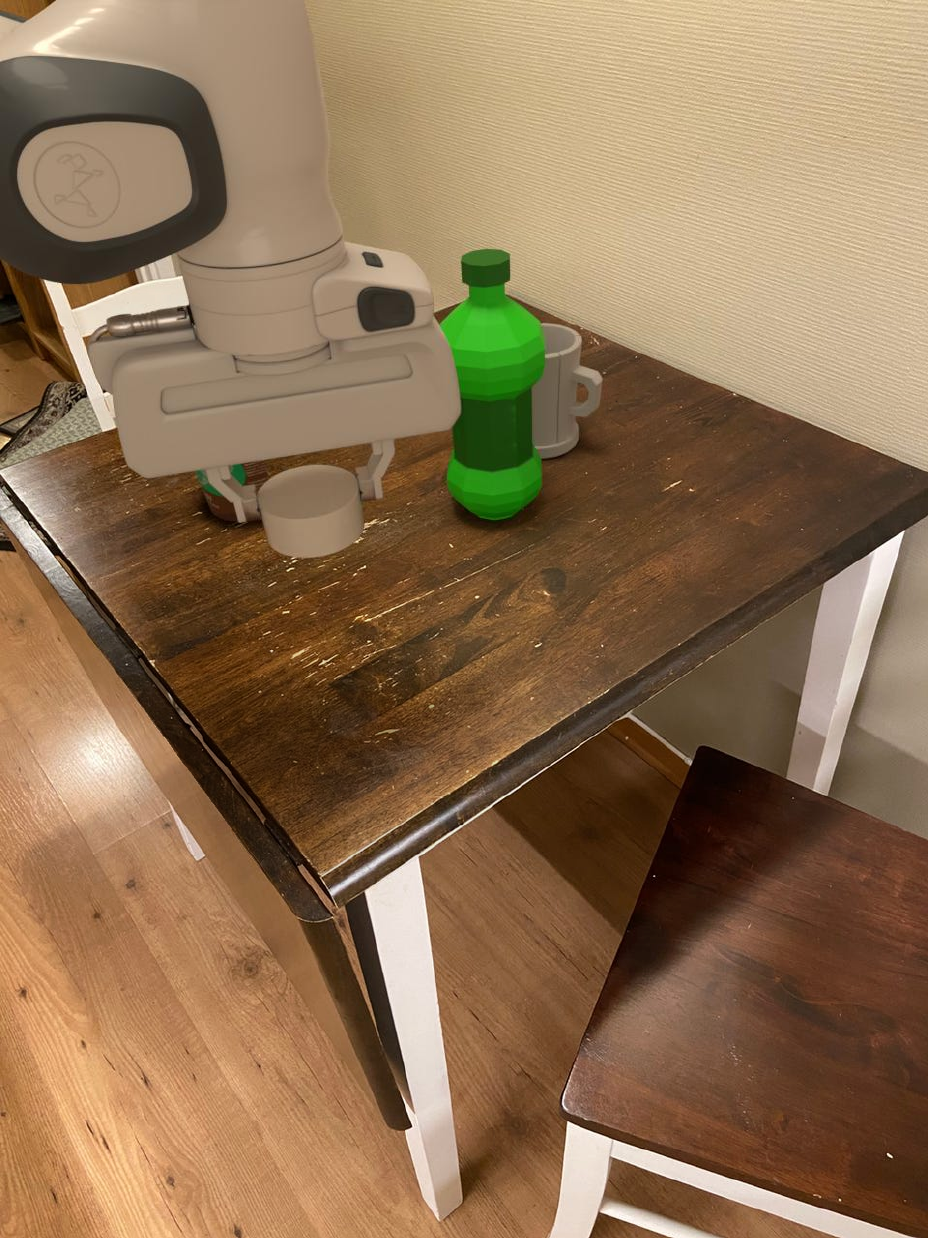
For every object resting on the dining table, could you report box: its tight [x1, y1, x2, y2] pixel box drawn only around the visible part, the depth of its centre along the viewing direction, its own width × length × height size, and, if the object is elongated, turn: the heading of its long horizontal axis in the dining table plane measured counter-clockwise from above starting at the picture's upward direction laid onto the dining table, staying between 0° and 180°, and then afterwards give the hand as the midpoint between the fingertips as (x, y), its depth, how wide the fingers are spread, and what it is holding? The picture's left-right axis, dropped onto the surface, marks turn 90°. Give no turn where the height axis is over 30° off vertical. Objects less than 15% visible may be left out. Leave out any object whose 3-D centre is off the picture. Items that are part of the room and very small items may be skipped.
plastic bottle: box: [439, 248, 545, 521], centre depth 83 cm, size 10×10×25 cm
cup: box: [532, 322, 604, 460], centre depth 96 cm, size 10×9×12 cm
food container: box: [194, 460, 270, 522], centre depth 90 cm, size 12×6×10 cm, turn 37°
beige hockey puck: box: [257, 464, 366, 559], centre depth 58 cm, size 7×7×3 cm
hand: (311, 506), depth 58 cm, fingers closed on beige hockey puck, 6 cm apart
